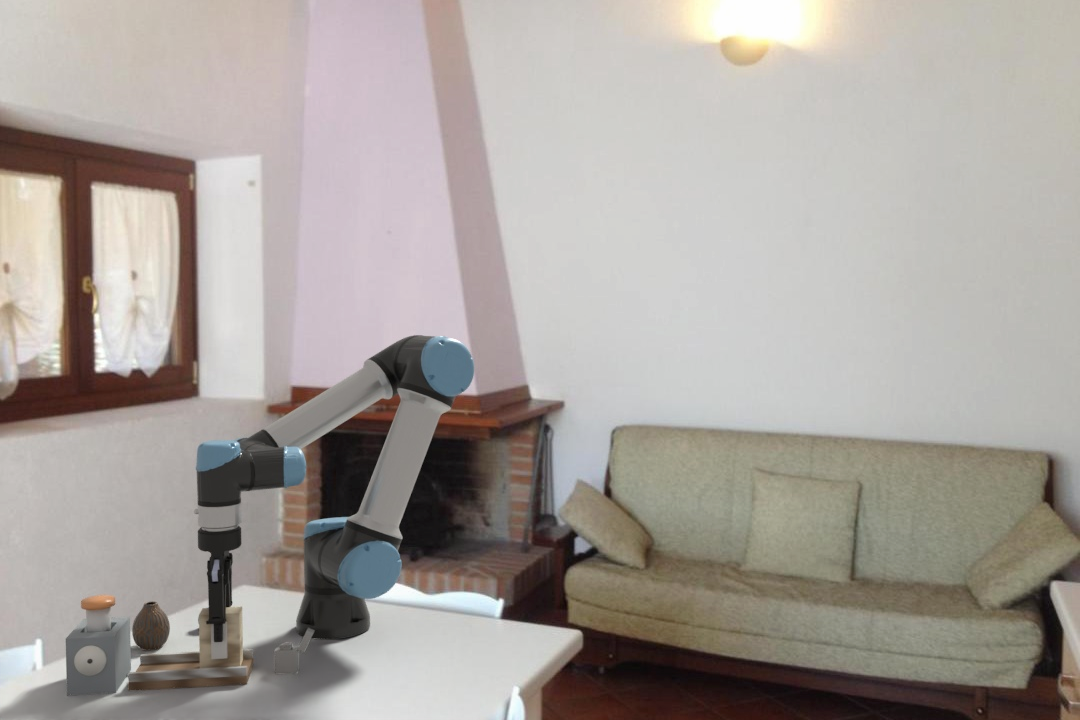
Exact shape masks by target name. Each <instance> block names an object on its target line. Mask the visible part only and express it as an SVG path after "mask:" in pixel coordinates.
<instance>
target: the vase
mask: <svg viewBox="0 0 1080 720" xmlns="http://www.w3.org/2000/svg"><path fill="white" fill-rule="evenodd" d="M170 625H171V624H170V621H169V617H168V615H167V613H165V611H164V610H163V609H162V608H161V606H159V603H158V602H157V601H147V602H145V603H144V604H143V607H142V608H141V610H139V612H138V613H137V614H136V616H135V618H134V620H133V624H132V628H131V630H132V631H131V632H132V638H133V641H134V644H135V645H136V646H137V647H138V649H140V650H142V651H151V650H152V651H153V650H154V651H155V650H157V649H160V648H162V647H163V645H164V644H165V643H167V641H168V639H169V636H170V631H171V630H170V629H171V626H170Z"/></svg>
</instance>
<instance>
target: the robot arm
mask: <svg viewBox="0 0 1080 720" xmlns="http://www.w3.org/2000/svg"><path fill="white" fill-rule="evenodd" d="M474 376H475V363H474V359H473V357H472V354H471V352H470V350H469V348H468V347H467V346H466V345H465V344H464V343H463V342H461V341H460V340H458V339H455V338H452V337H449V336H445V335H435V336H434V335H421V334H419V335H418V334H417V335H416V334H414V335H410V336H406V337H403V338H401V339H400V340H397V341H396V342H394V343H392V344H390V345H389V346H386V347H385V348H384V349H382V350H381V351H379V352H377V353H376V354H374V355H372V356H371V357H369V358H367V359H366V360H365V361H363V367H361V369H359V370H356V372H354V373H352V374H351V375H349V376H348V377H346V378H344V379H342V380H341V381H340V382H338V383H335V384H334V385H332V386H331V387H329V388H328V389H326V390H324V391H322V392H321V393H319V394H318V395H315V396H314V397H313V398H311V399H309V400H308V401H307V402H305V403H304V404H302V405H300V406H298V407H297V408H295V409H293V410H292V411H290V412H288V413H287V414H285V415H284V416H282V417H280V418H279V419H277V420H275V421H274V422H272V423H270V424H269V425H267V426H265V427H264V428H263V429H261V430H259V431H256V433H254V434H251V435H250V436H248V437H240V438H236V439H234V440H233V439H223V440H222V439H216V440H207V441H204V442H202V443H200V444H199V445H198V447H197V449H196V466H195V470H196V490H197V491H196V492H197V508H195V509H194V511H193V513H194V514H195V515H198V516H197V525H198V527H199V528H198V530H197V548H198V550H200V551H201V552H205V553H206V552H208V553H210V556H209V560H207V563H206V564H207V565H206V569H207V571H206V577H207V591H208V593H207V595H208V599H207V600H208V607H209V620H208V621H206V624H211V659H224V658H227V657H228V650H227V622H226V607H233V588H232V587H233V585H232V584H233V577H232V576H233V571H232V570H233V569H232V568H233V566H232V565H233V561H234V560H233V559H234V557H233V553H232V552H231V551H234V550H237V549H239V548H241V546H242V527H241V526H240V524H241V523H242V497H241V496H242V492H251V491H262V490H270V489H283V488H284V489H287V488H290V487H295V486H299V485H301V484H302V483H304V480H305V478H306V476H307V475H306V474H307V462H306V458H305V457H306V456H305V454H304V452H303V450H302V449H304V448H305V447H307V446H308V445H310V444H312V443H313V442H315V441H316V440H318V439H320V438H321V437H323V436H324V435H327V434H329V432H331V431H332V430H334V429H335V428H337V427H338V426H340V425H342V424H343V423H345V422H346V421H348V420H350V419H351V418H353V417H354V416H356V415H358V414H359V413H361V412H363V411H364V410H366V409H367V408H369V407H371V406H372V405H374V404H375V403H377V402H378V401H380V400H381V399H384V400H390V399H392V398H394V397H396V395H398V396H399V399H400V402H399V405H398V407H397V409H396V412H395V415H394V417H393V420H392V423H391V425H390V428H389V431H388V433H387V435H386V438H385V441H384V444H383V447H382V449H381V451H380V454H379V456H378V459H377V462H376V465H375V467H374V470H373V472H372V474H371V478H370V481H369V482H368V486H367V488H366V490H365V492H364V496H363V498H362V500H361V504H360V506H359V508H358V511H357V512H356V513H355V514H353V515H351V516H341V517H328V518H322V519H314V520H311V521H309V522H307V523H306V524H305V525H304V527H303V528H304V531H303V537H302V541H303V567H304V569H303V570H304V571H303V572H304V574H303V575H304V579H303V580H304V581H303V582H304V594H303V598H302V600H301V603H300V606H299V609H298V613H297V616H296V623H295V625H296V626H295V627H296V628H295V630H296V632H297V634H298V635H301V636H302V637H304V635H305V633H306V631H307V629H308V628H311V629H313V630H315V631H314V633H313V635H312V637H311V639H315V640H337V639H345V638H351V637H354V636H358V635H360V634H363V633H364V632H365V633H366V631H368V630H369V629H370V626H371V616H370V615H371V614H370V611H369V609H368V605H367V603H366V600H371V599H376V598H379V597H381V596H383V595H385V594H387V593H388V592H389V591H390V590H391V589H392V588H393V587H394V586H395V585H396V584H397V582H398V580H399V578H400V575H401V572H402V567H403V566H402V565H403V564H402V563H403V562H402V559H401V554H400V553H399V549H400V545H401V543H402V540H403V534H402V532H401V531H400V524H401V521H402V519H403V517H404V514H405V511H406V508H407V506H408V503H409V500H410V498H411V494H412V493H413V490H414V487H415V484H416V482H417V479H418V476H419V474H420V472H421V468H422V465H423V463H424V460H425V457H426V455H427V452H428V450H429V447H430V444H431V442H432V439H433V436H434V435H435V432H436V429H437V426H438V423H439V421H440V418H441V416H442V414H443V415H444V413H447V412H449V411H451V409H452V407H453V405H454V403H455V399H456V397H457V396H458V395H461V394H462V393H464V392H466V391H467V389H468V388H469V387H470V386H471V383H472V382H473V380H474Z"/></svg>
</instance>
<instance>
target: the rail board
mask: <svg viewBox="0 0 1080 720" xmlns="http://www.w3.org/2000/svg"><path fill="white" fill-rule="evenodd" d="M139 658H140V659H139V660H140V663H139V665H138V667H137V669H136V670H135V671H130V672H129V674H128V675H127V676H128V682H127V683H128V685H127V686H128V691H129V692H132V691H134V692H135V691H150V690H153V691H154V690H169V689H185V688H187V689H188V688H202V687H203V688H204V687H219V686H220V687H221V686H223V687H224V686H237V685H239V686H240V685H247V684H248V681H249V679H250V676H251V673H252V670H253V667H254V648H243V661H242V664H241V666H236V667H217V668H200V652H199V651H185V652H183V651H182V652H162V653H145V654H140V656H139Z"/></svg>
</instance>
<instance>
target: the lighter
mask: <svg viewBox="0 0 1080 720" xmlns="http://www.w3.org/2000/svg"><path fill="white" fill-rule="evenodd" d="M314 631H315V630H313V629H311V628H308V629H307V631H306V633H305V635H304V636H302V637H303V638H302V639H301V642H300V644H299V646H297V647H295V646H293V642H282V643H281V644H279V645H278V647H275V649H274V674H276V675H279V674H281V675H282V674H285V675H286V674H298V673H299V670H300V662H299V661H300V658H299V656H300V655H299V653H300V652H301V653H303V654H304V653H305V651H306V649H307V648H308V645H310V644H309V643H310V642H311V639H312V638H311V637H312V635H313V633H314Z"/></svg>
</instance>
